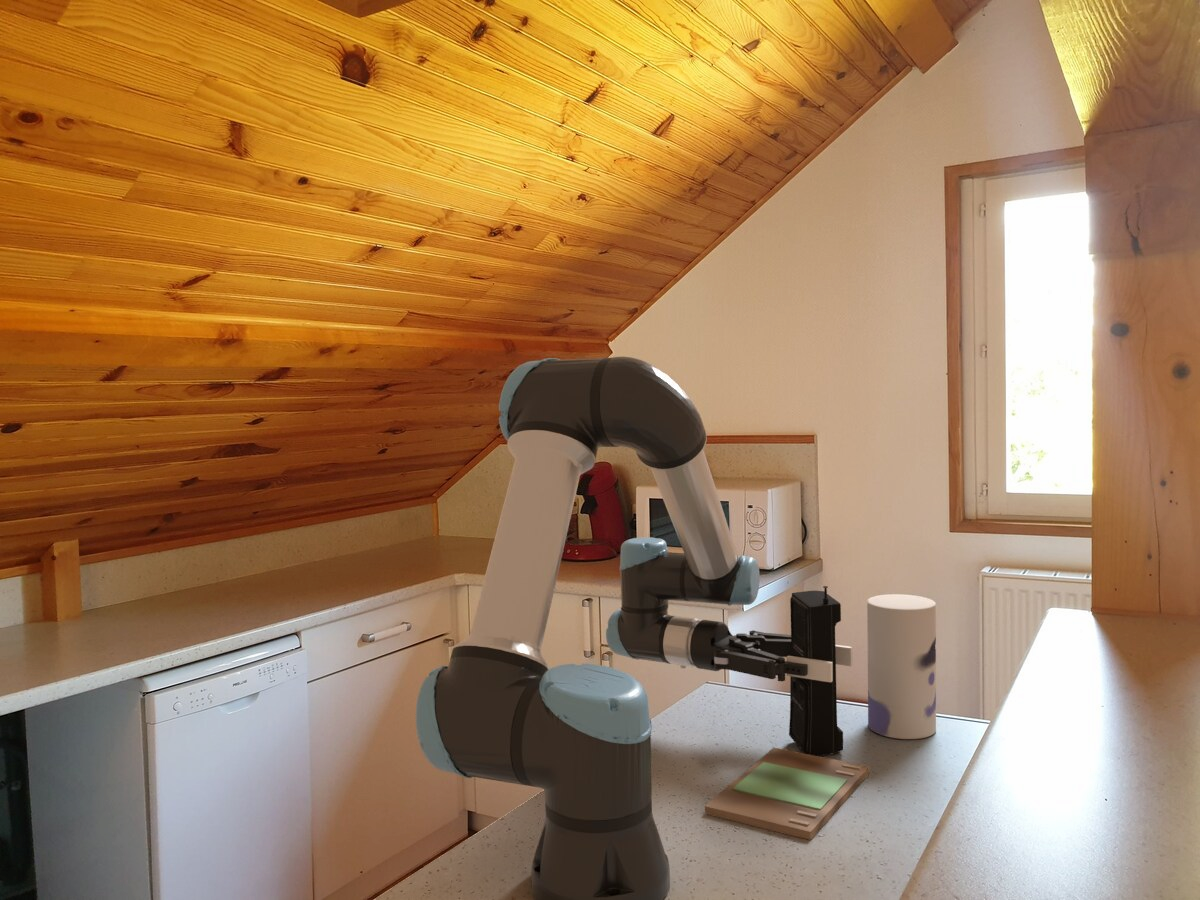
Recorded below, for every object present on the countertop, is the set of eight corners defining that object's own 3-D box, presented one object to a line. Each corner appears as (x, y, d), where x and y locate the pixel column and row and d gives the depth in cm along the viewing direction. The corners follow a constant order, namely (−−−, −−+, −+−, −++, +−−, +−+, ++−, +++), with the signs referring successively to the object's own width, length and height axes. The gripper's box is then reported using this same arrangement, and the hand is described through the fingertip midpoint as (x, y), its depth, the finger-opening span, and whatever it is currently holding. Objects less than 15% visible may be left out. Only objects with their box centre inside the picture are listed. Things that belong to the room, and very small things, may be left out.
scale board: (810, 840, 115) (810, 830, 115) (704, 813, 123) (704, 804, 123) (869, 773, 133) (869, 765, 133) (774, 754, 141) (773, 746, 141)
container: (940, 741, 144) (940, 609, 142) (870, 738, 146) (869, 607, 144) (931, 718, 154) (931, 593, 152) (865, 715, 156) (865, 592, 154)
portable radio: (784, 735, 147) (780, 575, 143) (822, 729, 148) (818, 571, 144) (804, 759, 139) (800, 591, 135) (844, 753, 140) (841, 586, 136)
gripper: (728, 650, 160) (864, 670, 147) (667, 685, 143) (816, 711, 130) (727, 605, 159) (864, 621, 147) (666, 635, 142) (815, 657, 130)
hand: (841, 664), depth 139 cm, fingers closed on portable radio, 8 cm apart
